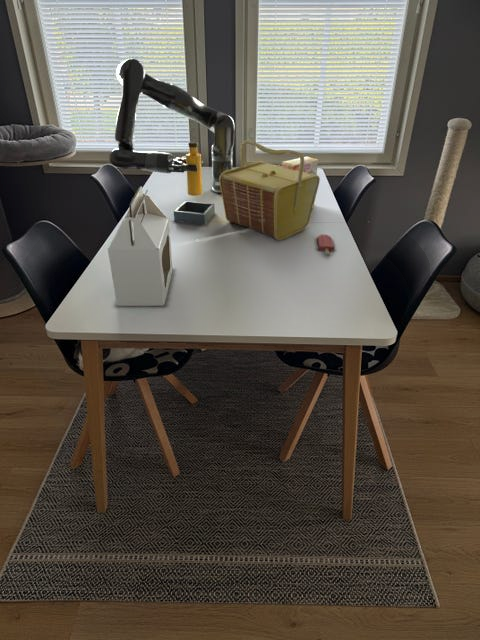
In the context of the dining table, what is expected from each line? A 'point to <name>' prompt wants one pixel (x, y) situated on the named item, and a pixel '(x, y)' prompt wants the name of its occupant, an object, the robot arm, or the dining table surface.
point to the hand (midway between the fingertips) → (199, 166)
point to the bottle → (194, 177)
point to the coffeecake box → (309, 165)
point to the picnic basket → (269, 195)
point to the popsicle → (325, 243)
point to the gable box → (141, 255)
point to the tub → (194, 212)
